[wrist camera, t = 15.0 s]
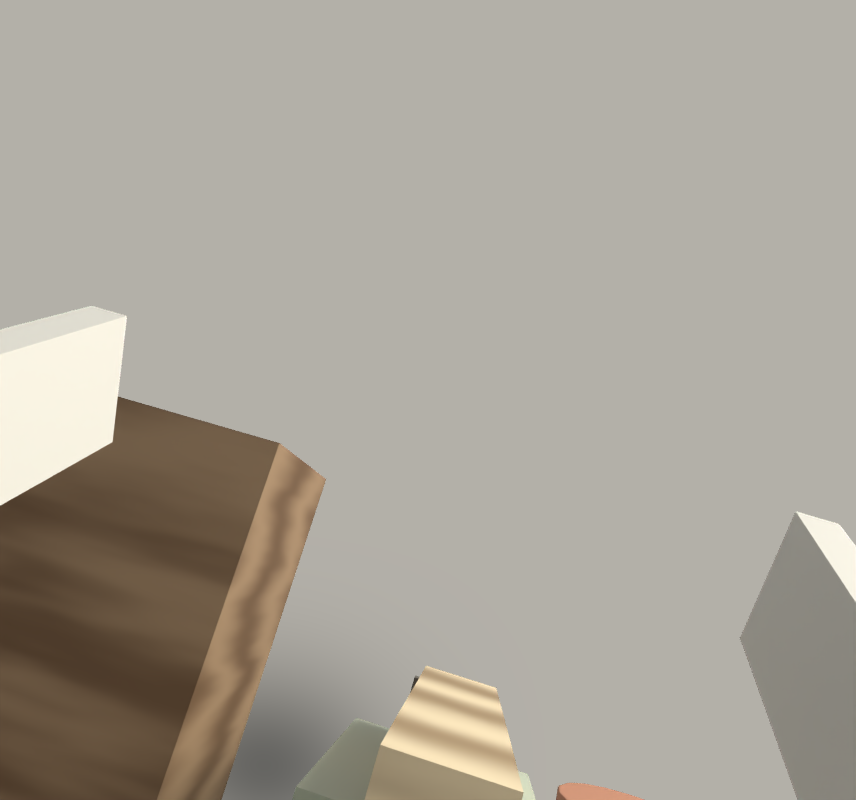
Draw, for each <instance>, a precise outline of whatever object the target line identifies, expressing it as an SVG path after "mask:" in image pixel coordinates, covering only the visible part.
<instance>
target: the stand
mask: <svg viewBox="0 0 856 800" xmlns="http://www.w3.org/2000/svg"><path fill="white" fill-rule="evenodd" d="M325 481H326V479H325V478H323V477H322V476H321V475H320V474H319V473H317V472H316V471H315V470H313V469H312V468H311V467H310V466H308V465H307V464H306V463H304V462H303V461H302V460H300V459H299V458H298V457H296V456H295V455H294V454H293V453H291V452H290V451H289V450H288V449H286V448H285V447H284V446H282V445H281V444H280V443H277V442H274V441H270V440H267V439H263V438H260V437H256V436H252V435H249V434H246V433H242V432H239V431H235V430H232V429H228V428H225V427H222V426H218V425H215V424H211V423H208V422H204V421H201V420H197V419H194V418H190V417H187V416H183V415H180V414H176V413H173V412H169V411H166V410H162V409H159V408H156V407H152V406H149V405H145V404H142V403H138V402H135V401H131V400H128V399H124V398H121V397H118V398H117V407H116V416H115V424H114V433H113V442H112V443H110V444H108V445H106V446H105V447H103V448H101V449H99V450H98V451H96V452H94V453H92V454H91V455H89V456H87V457H85V458H84V459H82V460H80V461H78V462H76V463H75V464H73V465H71V466H69V467H68V468H66V469H64V470H62V471H61V472H59V473H57V474H55V475H53V476H52V477H50V478H48V479H46V480H45V481H43V482H41V483H39V484H38V485H36V486H34V487H32V488H30V489H29V490H27V491H25V492H23V493H22V494H20V495H18V496H16V497H15V498H13V499H11V500H9V501H7V502H6V503H4V504H2V505H0V800H221V799H222V796H223V793H224V790H225V787H226V784H227V781H228V778H229V775H230V772H231V769H232V766H233V763H234V760H235V756H236V753H237V750H238V747H239V744H240V741H241V738H242V735H243V731H244V729H245V726H246V723H247V720H248V717H249V713H250V710H251V707H252V704H253V701H254V698H255V695H256V692H257V689H258V686H259V683H260V680H261V677H262V674H263V671H264V667H265V665H266V661H267V658H268V655H269V652H270V649H271V646H272V643H273V640H274V637H275V634H276V631H277V627H278V625H279V622H280V619H281V616H282V612H283V609H284V606H285V603H286V600H287V597H288V594H289V591H290V588H291V585H292V582H293V579H294V576H295V573H296V570H297V566H298V563H299V560H300V557H301V554H302V551H303V548H304V545H305V542H306V538H307V536H308V532H309V530H310V526H311V524H312V521H313V517H314V514H315V511H316V508H317V505H318V502H319V499H320V496H321V493H322V490H323V487H324V484H325Z"/></svg>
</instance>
